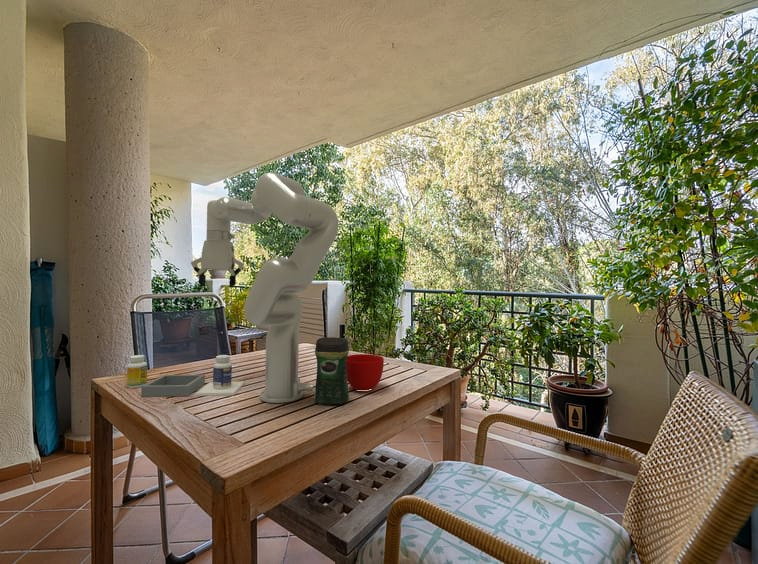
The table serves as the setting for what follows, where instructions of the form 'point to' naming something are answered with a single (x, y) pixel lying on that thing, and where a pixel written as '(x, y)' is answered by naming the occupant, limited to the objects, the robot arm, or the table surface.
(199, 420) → the table surface
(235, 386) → the tile
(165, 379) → the bin
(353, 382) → the ceramic cup
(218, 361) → the pill bottle
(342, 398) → the coffee jar
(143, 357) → the supplement bottle
